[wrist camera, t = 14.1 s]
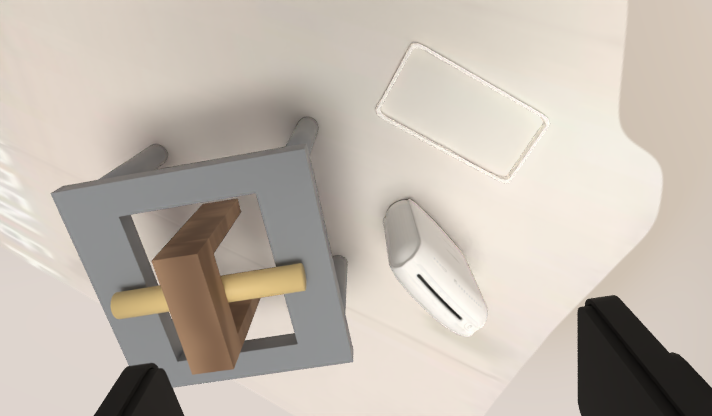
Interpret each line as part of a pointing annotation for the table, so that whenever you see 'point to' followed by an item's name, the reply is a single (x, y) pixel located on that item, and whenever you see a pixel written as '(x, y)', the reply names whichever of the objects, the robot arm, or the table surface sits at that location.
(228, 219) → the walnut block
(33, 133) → the table surface
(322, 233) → the grey open-frame table
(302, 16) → the table surface
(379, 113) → the phone case
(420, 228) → the photo printer
